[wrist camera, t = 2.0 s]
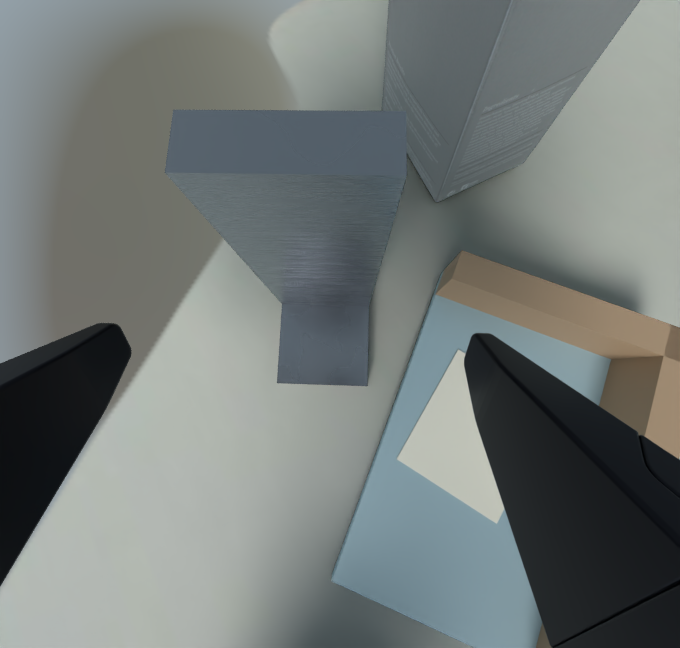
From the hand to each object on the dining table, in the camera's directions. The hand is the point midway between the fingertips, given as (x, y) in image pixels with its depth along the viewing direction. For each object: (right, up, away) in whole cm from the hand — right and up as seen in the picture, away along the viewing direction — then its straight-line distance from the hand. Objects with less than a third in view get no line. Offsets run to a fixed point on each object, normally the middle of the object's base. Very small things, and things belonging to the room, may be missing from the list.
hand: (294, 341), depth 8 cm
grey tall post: (0, 0, +11) cm, 11 cm away
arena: (+10, -7, +9) cm, 15 cm away
